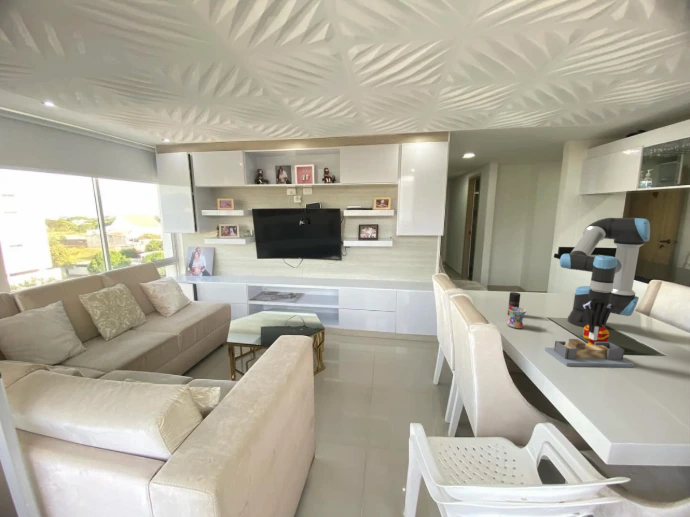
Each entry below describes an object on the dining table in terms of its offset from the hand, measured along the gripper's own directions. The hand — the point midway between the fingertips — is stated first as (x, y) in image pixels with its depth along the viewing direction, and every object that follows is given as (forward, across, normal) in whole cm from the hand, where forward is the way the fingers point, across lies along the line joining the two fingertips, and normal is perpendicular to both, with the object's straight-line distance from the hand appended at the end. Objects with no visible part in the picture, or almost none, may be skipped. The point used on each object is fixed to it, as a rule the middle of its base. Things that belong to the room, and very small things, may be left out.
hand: (592, 338), depth 129 cm
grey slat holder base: (+9, +2, +1) cm, 10 cm away
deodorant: (+10, +6, -53) cm, 54 cm away
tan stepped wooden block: (+8, +3, +1) cm, 8 cm away
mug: (+10, +14, -36) cm, 40 cm away
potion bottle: (+10, -12, -12) cm, 19 cm away
